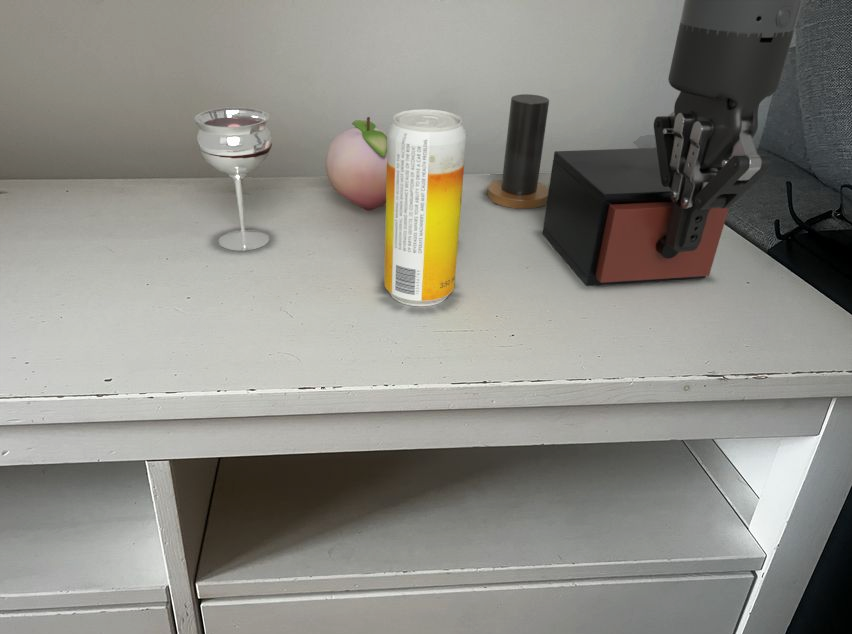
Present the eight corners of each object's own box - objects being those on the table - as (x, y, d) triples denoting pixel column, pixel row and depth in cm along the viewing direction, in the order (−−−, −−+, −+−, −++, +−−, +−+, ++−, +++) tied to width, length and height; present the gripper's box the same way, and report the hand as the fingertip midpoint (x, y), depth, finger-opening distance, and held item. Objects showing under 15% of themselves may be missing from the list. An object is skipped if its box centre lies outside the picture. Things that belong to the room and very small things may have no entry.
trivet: (536, 185, 86) (537, 177, 86) (557, 207, 80) (559, 198, 80) (480, 187, 85) (480, 179, 84) (497, 210, 79) (498, 201, 79)
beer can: (461, 283, 64) (475, 112, 56) (443, 315, 60) (456, 133, 51) (396, 272, 66) (402, 104, 58) (374, 302, 61) (376, 124, 53)
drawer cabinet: (705, 278, 66) (731, 188, 62) (586, 286, 65) (604, 194, 60) (646, 228, 76) (665, 147, 71) (541, 233, 74) (554, 151, 69)
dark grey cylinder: (529, 182, 84) (541, 93, 79) (541, 194, 81) (554, 103, 75) (496, 183, 83) (506, 94, 78) (507, 196, 80) (518, 104, 75)
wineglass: (203, 231, 73) (188, 110, 66) (269, 222, 75) (260, 104, 68) (216, 259, 68) (200, 130, 61) (286, 248, 70) (278, 123, 63)
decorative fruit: (313, 202, 80) (310, 110, 75) (379, 191, 83) (380, 102, 78) (349, 233, 73) (348, 134, 68) (419, 220, 76) (423, 125, 71)
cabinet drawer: (716, 282, 64) (738, 209, 60) (606, 289, 62) (621, 215, 58) (653, 229, 73) (669, 163, 70) (556, 234, 72) (567, 167, 68)
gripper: (643, 9, 56) (604, 221, 65) (743, 34, 45) (679, 286, 54) (731, 9, 57) (681, 217, 66) (851, 33, 46) (770, 280, 55)
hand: (680, 247), depth 60 cm, fingers closed
